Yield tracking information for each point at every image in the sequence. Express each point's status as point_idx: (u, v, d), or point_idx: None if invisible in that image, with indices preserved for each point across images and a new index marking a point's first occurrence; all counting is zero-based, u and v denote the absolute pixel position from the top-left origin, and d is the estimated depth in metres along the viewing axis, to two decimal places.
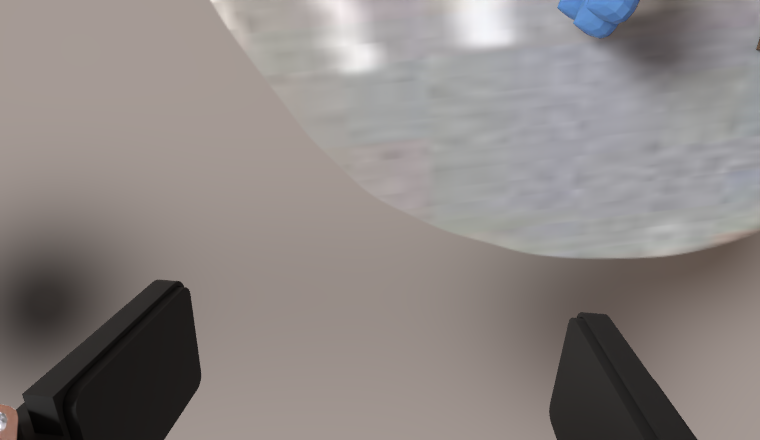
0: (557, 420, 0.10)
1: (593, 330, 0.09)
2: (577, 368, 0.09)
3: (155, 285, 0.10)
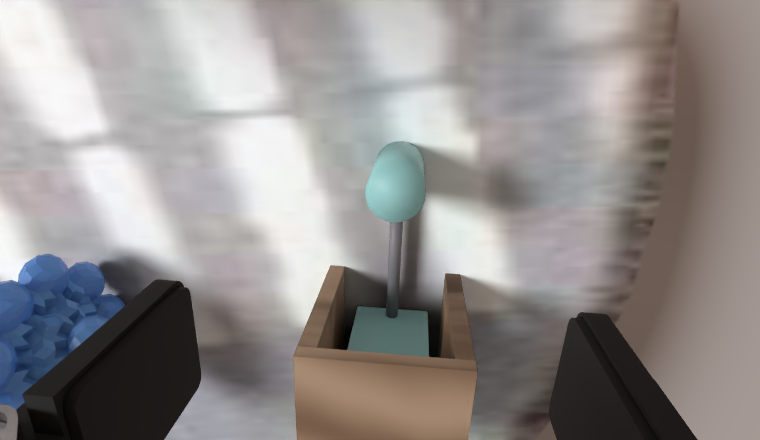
0: (557, 421, 0.10)
1: (593, 330, 0.09)
2: (577, 368, 0.09)
3: (155, 285, 0.10)
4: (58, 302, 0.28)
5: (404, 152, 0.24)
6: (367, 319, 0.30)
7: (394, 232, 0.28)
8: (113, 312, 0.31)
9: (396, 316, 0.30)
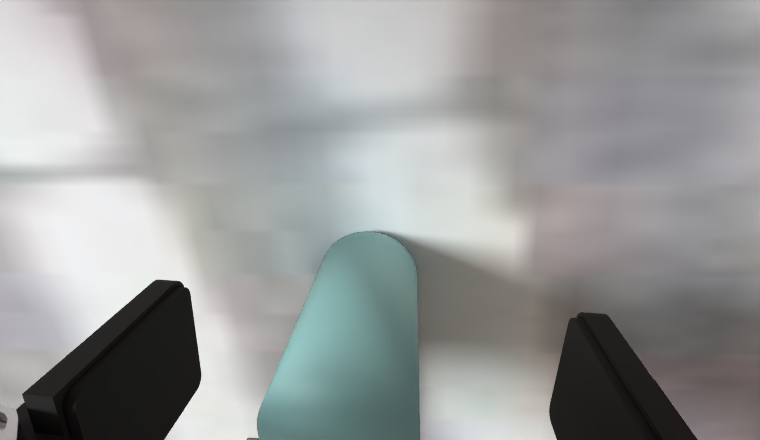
0: (557, 421, 0.10)
1: (593, 330, 0.09)
2: (577, 368, 0.09)
3: (155, 285, 0.10)
4: None
5: (370, 282, 0.10)
6: None
7: None
8: None
9: None
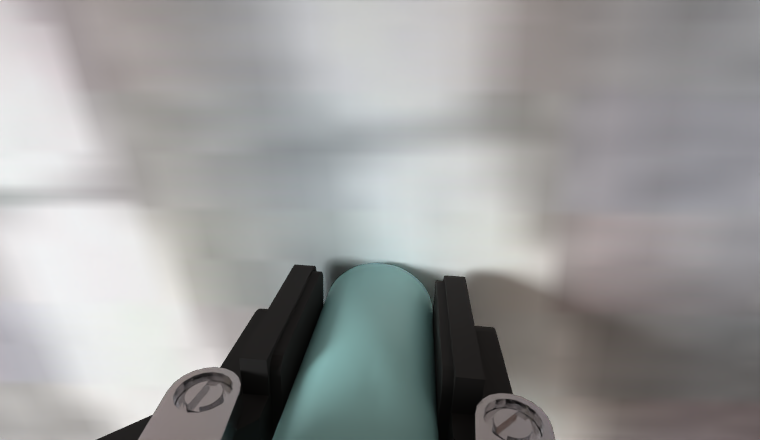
0: None
1: (446, 289, 0.10)
2: (434, 322, 0.11)
3: (297, 269, 0.11)
4: None
5: (382, 329, 0.09)
6: None
7: None
8: None
9: None
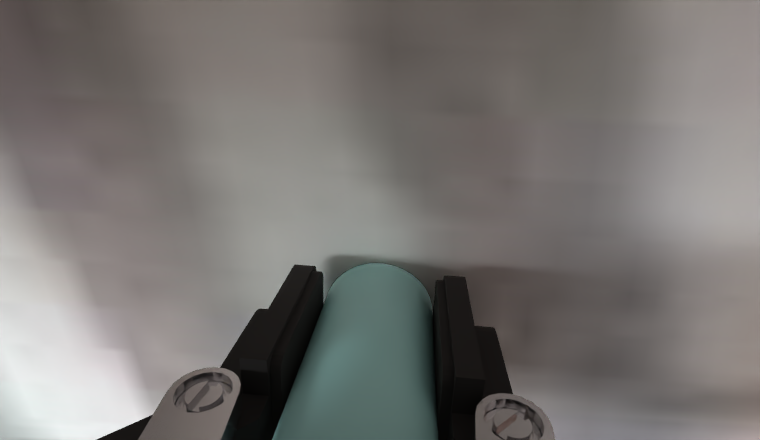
0: None
1: (446, 288, 0.10)
2: (434, 322, 0.11)
3: (297, 269, 0.11)
4: None
5: (382, 329, 0.09)
6: None
7: None
8: None
9: None
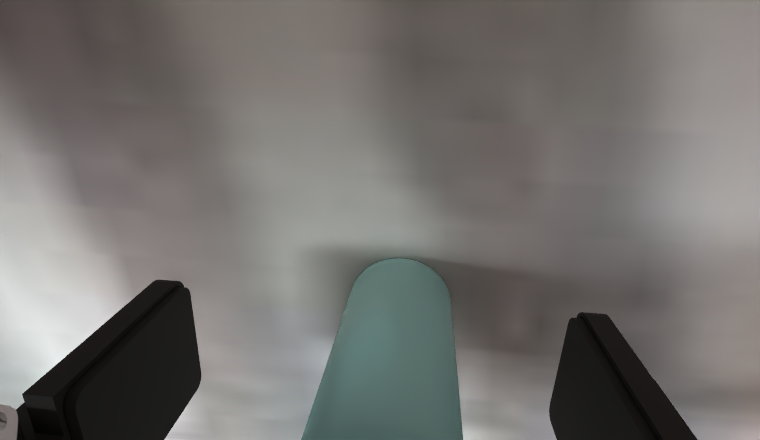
0: (557, 421, 0.10)
1: (593, 330, 0.09)
2: (577, 368, 0.09)
3: (155, 285, 0.10)
4: None
5: (408, 317, 0.10)
6: None
7: None
8: None
9: None
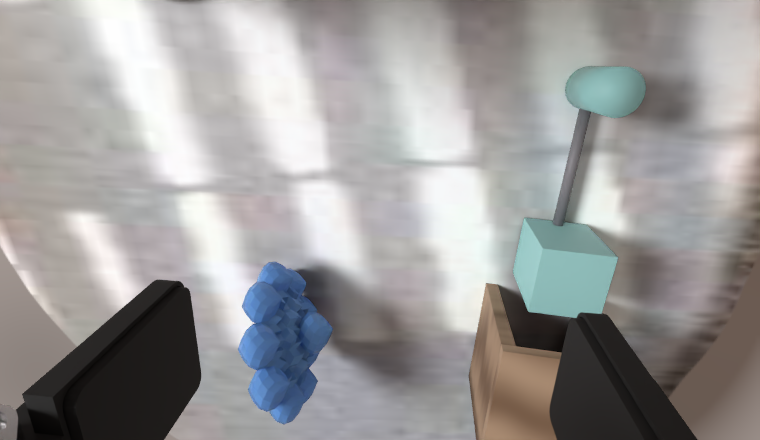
0: (557, 421, 0.10)
1: (593, 330, 0.09)
2: (577, 368, 0.09)
3: (155, 285, 0.10)
4: (287, 300, 0.36)
5: None
6: (539, 225, 0.34)
7: (577, 145, 0.33)
8: (309, 310, 0.39)
9: (563, 224, 0.35)
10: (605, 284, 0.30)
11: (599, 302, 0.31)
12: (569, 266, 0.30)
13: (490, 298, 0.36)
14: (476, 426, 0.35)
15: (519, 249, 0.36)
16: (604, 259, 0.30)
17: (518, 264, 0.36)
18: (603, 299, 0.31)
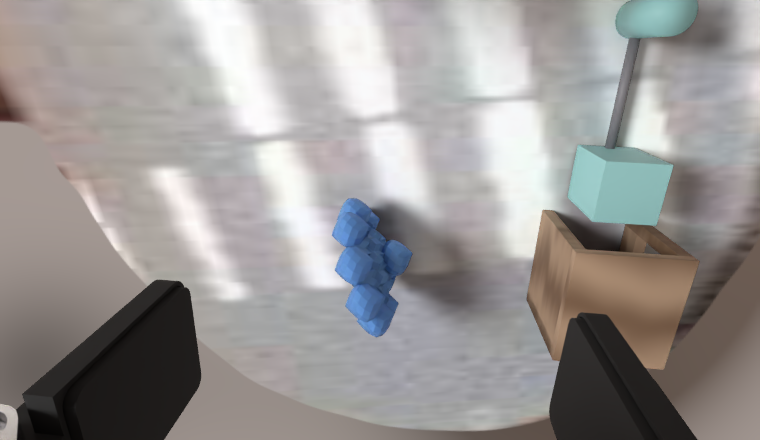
0: (557, 421, 0.10)
1: (593, 330, 0.09)
2: (577, 368, 0.09)
3: (155, 285, 0.10)
4: (368, 230, 0.39)
5: None
6: (594, 149, 0.38)
7: (627, 71, 0.36)
8: None
9: (614, 147, 0.39)
10: (662, 190, 0.34)
11: (656, 208, 0.35)
12: (630, 176, 0.34)
13: (550, 219, 0.40)
14: (544, 333, 0.39)
15: (574, 174, 0.40)
16: (661, 167, 0.34)
17: (574, 187, 0.40)
18: (660, 205, 0.35)
